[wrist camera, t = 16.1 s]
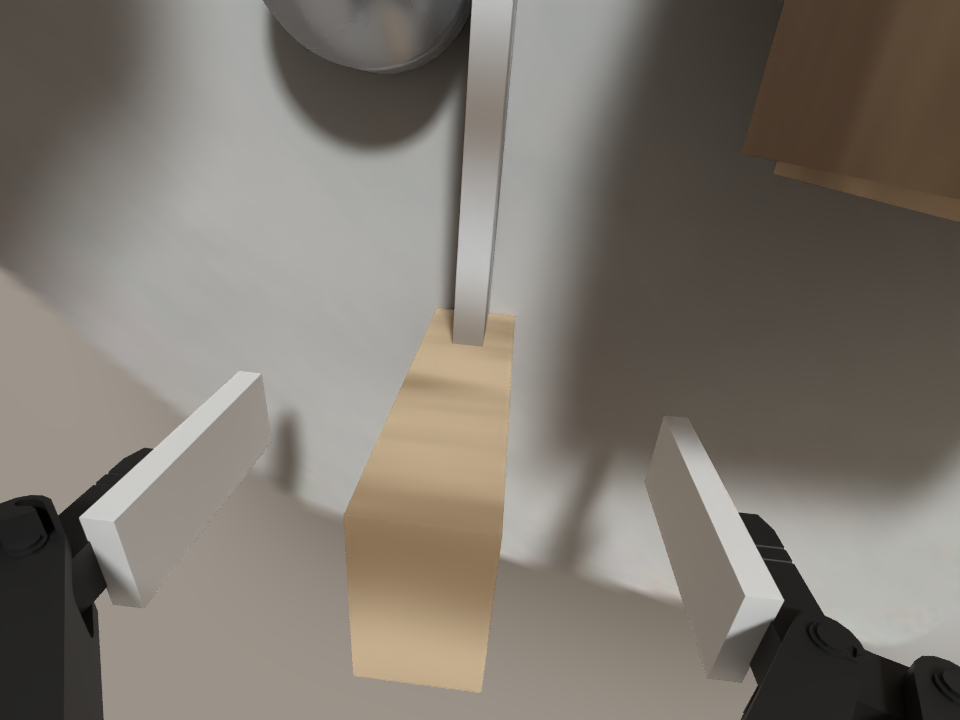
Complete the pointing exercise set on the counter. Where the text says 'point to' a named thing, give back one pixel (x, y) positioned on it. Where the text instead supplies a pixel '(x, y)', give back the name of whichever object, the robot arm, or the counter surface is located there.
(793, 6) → the small wooden cabinet
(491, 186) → the wood and metal l-shape
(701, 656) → the robot arm
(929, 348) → the counter surface
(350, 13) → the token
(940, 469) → the counter surface
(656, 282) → the counter surface
